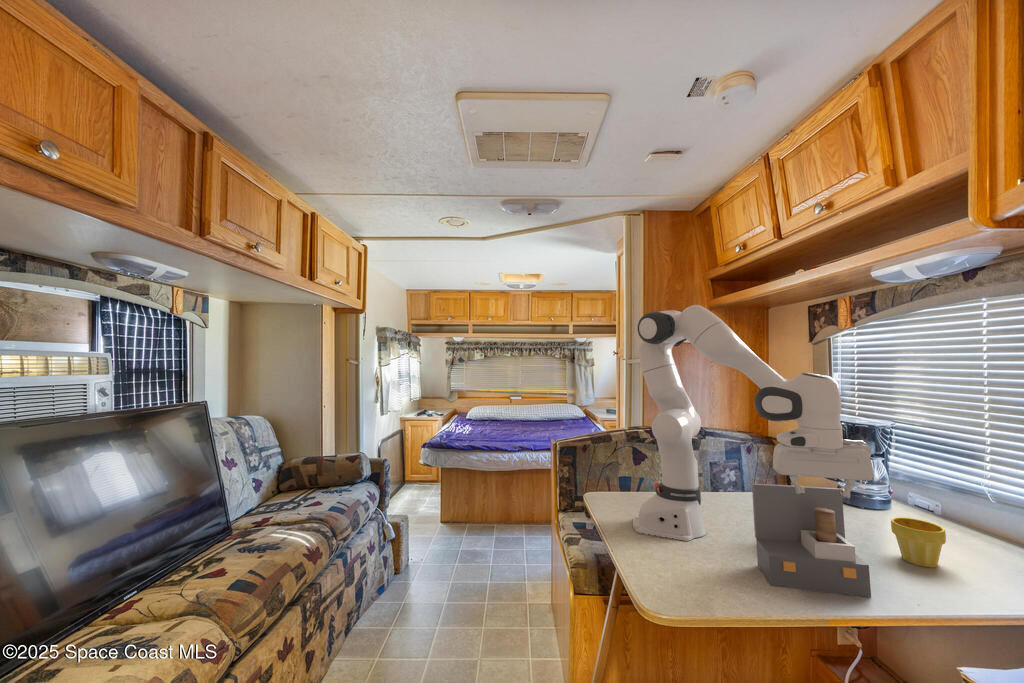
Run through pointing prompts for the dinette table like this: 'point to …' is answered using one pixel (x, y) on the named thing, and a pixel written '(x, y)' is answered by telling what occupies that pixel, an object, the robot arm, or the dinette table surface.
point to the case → (805, 542)
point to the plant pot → (919, 540)
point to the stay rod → (825, 525)
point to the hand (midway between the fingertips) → (822, 495)
